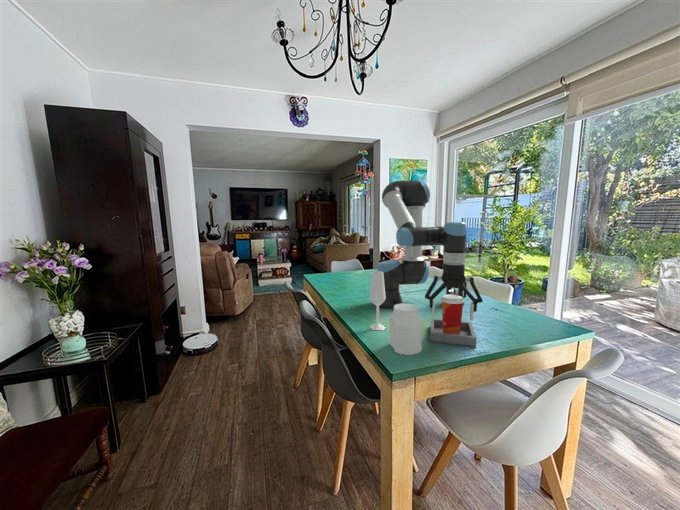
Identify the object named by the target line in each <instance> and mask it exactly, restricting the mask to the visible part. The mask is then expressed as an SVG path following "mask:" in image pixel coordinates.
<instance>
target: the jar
mask: <svg viewBox="0 0 680 510" xmlns="http://www.w3.org/2000/svg"><path fill="white" fill-rule="evenodd" d="M422 331H423V321H422V318H421V317H420V315H419V309H418V306H417V305H415V304H412V303H403V302H402V304H396V305H394V308H393V313H392V314H391V315H390V317H389V346H390V345H391V347H392V348H393V351H394V353H395V352H396V353H395V354H398V353H399V354H398V355H402V354H404V355H403V356H414V354H415V355H417V354H420V353H421V352H422V351H423V346H422V343H423V341H422V340H423V337H422V336H423V332H422Z"/></svg>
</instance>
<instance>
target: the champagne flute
mask: <svg viewBox="0 0 680 510" xmlns="http://www.w3.org/2000/svg"><path fill="white" fill-rule="evenodd" d="M370 277H371V278H370V289H369V300H370V302H371V303H372V304H373V305H374V306H375V305H376V306H375V315H376V317H375V318H376V319H375V321H376V322H375V324H372V325H370V326H371V327H370V326H369V329H370V328H371V329H372V331H374V330H383V331H384V329H385V328H386V326H385V327H384V325H383V324H381V323H380V307H379V306H380V305H381V304H382V303H383V302H384V301H385V299H386V295H385V285H384V274H383V272H382V271H377V270H374V271H371V276H370ZM371 329H370V330H371ZM385 330H386V329H385Z"/></svg>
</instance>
